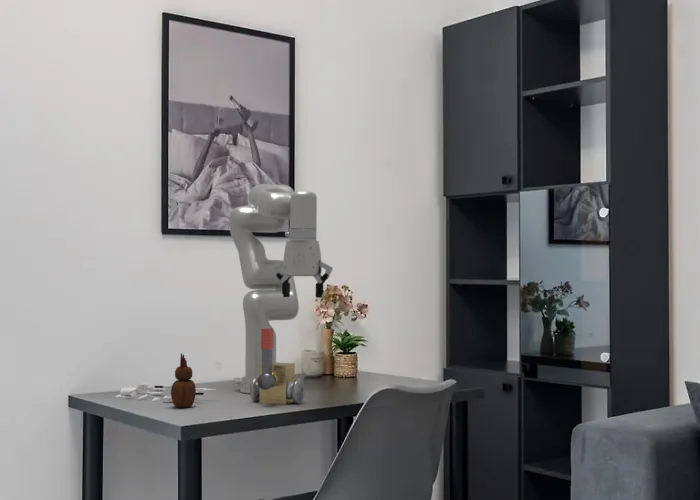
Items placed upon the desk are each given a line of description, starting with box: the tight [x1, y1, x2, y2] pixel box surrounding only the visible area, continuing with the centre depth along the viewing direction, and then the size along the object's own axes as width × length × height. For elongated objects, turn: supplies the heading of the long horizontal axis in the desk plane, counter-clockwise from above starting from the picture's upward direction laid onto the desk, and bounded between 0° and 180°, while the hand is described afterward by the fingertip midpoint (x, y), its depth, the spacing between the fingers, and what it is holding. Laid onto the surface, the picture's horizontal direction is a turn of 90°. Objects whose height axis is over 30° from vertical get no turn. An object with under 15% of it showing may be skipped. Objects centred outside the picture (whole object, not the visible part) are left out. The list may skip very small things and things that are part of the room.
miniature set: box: [114, 383, 217, 403], centre depth 262 cm, size 6×35×12 cm
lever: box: [257, 327, 276, 390], centre depth 249 cm, size 4×3×17 cm
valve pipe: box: [249, 361, 305, 406], centre depth 255 cm, size 14×10×11 cm
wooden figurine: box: [170, 353, 197, 409], centre depth 246 cm, size 7×6×15 cm
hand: (302, 297), depth 249 cm, fingers open, 9 cm apart
